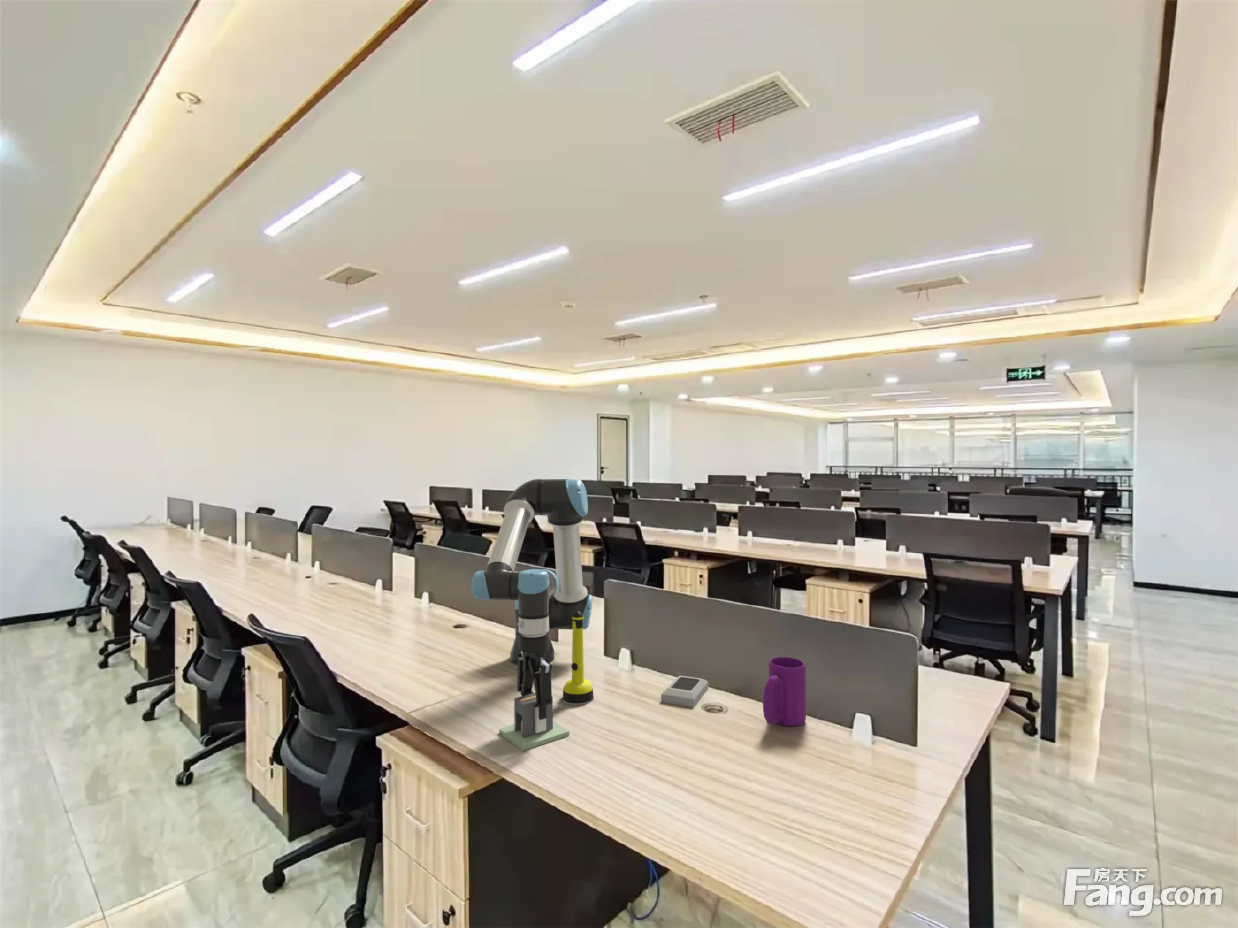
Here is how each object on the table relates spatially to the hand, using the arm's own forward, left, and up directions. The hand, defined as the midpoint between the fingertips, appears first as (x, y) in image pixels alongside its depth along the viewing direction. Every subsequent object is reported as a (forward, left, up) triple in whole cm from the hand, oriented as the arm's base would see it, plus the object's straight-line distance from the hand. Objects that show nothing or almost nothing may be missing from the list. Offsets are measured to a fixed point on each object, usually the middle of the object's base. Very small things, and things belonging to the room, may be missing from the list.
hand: (534, 726), depth 147 cm
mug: (-53, +34, -2) cm, 63 cm away
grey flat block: (-47, +5, -3) cm, 47 cm away
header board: (0, 0, -2) cm, 2 cm away
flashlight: (-21, -12, -2) cm, 24 cm away
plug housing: (0, 0, -1) cm, 1 cm away
